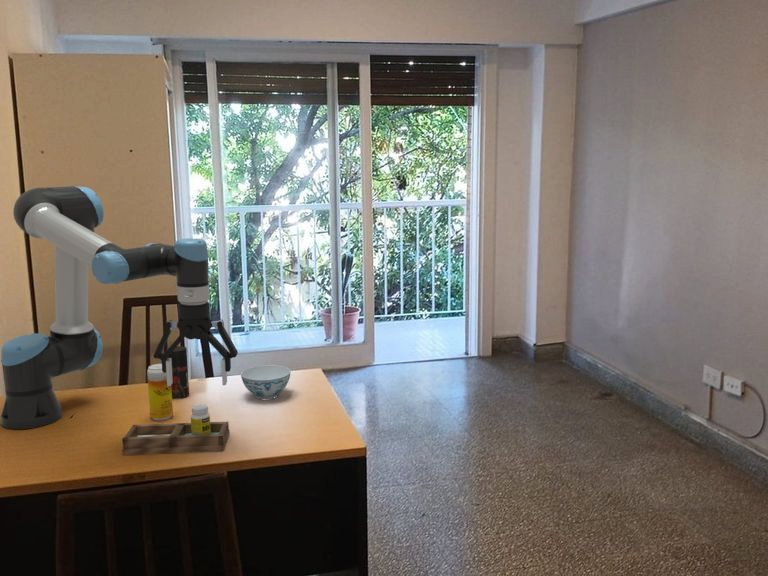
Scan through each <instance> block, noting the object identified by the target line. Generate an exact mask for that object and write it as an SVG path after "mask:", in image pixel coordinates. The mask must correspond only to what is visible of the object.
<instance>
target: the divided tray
mask: <svg viewBox="0 0 768 576" xmlns="http://www.w3.org/2000/svg"><path fill="white" fill-rule="evenodd" d="M229 428H230V427H229V421H210V431H211V434H207V435H192V434H191V422H182V423H181V422H180V423H179V422H177V423H176V422H175V423H152V424H151V423H150V424H149V423H146V424H133V425H132V426H130V428H129V430H127V432H126V434H125V435H124V437H123V438H122V450H121V451H122V452H121V453H122V456H129V455H130V454H131V456H132V454H135V455H155V454H156V455H157V454H158V453H161V454H181V453H182V454H183V453H184V454H185V453H204V452H205V453H206V452H207V453H210V452H224V450H225V447H226V444H227V441H228V438H229V436H230V429H229Z"/></svg>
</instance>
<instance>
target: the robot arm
mask: <svg viewBox="0 0 768 576" xmlns="http://www.w3.org/2000/svg"><path fill="white" fill-rule="evenodd" d="M12 211H13V213H12V214H13V219H14V221H15V223H16V224H17V226H18V228H19V229H20V230H22V231H23V232H24V233H26V234H28V236H30V237H32V238H35V239H43V240H45V241H47V242H49V243H50V244H52V245H54V281H55V282H54V283H55V284H54V285H55V287H54V290H55V294H54V296H55V301H54V302H55V322H53V323H52V324H51V325H50V327H49V336H47V334H45V333H37V332H35V333H29V334H24V335H19V336H17V337H13V338H11V339H10V340H8V341H6V342H5V343H4V345H2V347H1V348H0V349H1V350H0V351H1V353H0V354H1V355H0V357H1V359H0V360H1V365H2V366H1V367H2V375H3V382H4V390H5V391H4V392H5V399H4V403H3V407H2V410H1V414H0V419H1V420H0V421H1V426H2V427H3V428H6V429H11V430H26V429H33V428H39V427H42V426H47V425H49V424H52V423H54V422H56V421H58V420H60V419H61V418H62V416H63V410H62V408H63V407H62V405H61V403H60V401H59V400H58V397H57V395H56V394H55V391H54V388H53V378H55V377H59V376H63V375H67V374H70V373H73V372H74V373H75V372H78V371H83V370H85V369H87V368H90V367H91V366H95V364H97V363H98V362H99V361H100V358H101V356H102V354H103V349H104V346H103V345H104V344H103V340H102V338H101V334H100V332H99V331H98V330H97V329H96V328H95V326H94V324H93V323H92V322H90V321H89V267H90V268H91V272H92V276H94V277H95V279H96V281H97V282H99V283H100V284H104V285H108V284H121V283H123V282H128V281H134V280H135V281H136V280H140V279H145V278H151V277H157V276H159V277H160V276H173V277H176V280H177V281H176V285H177V286H176V287H177V288H176V289H177V291H176V292H177V302H179V303H178V304H177V308H178V309H177V311H178V321H173V320H171V319H169V320H167V322H166V323H165V326H164V332H163V335H162V336H161V338H160V340H159V343H158V345H157V347H156V349H155V352H154V353H153V359H157V360H160V361H161V364H162V371H163V373H166V375H167V386H171V384H172V383H173V380H172V361H171V358H168V356H169V355H170V354H171V353H172V352H173V350H174V349H175V348H176V347H177V346H180V345H179V344H181V342H182V341H183V340H184V339H185V338H186V339H188V340H202V339H204V340H206V342H208V343H209V344H210V345H211V346H212V347H213V348H214V349H215V350H216V351H217V353H219V355H220V356H222V359H221V376H222V377H221V379H222V380H221V381H222V386H227V382H228V372H230V371H231V369H232V363H231V362H232V361H231V360H232V358H236V357H237V355H238V354H239V352H238V351H239V350H238V349H237V348H236V346H235V344H234V342H233V341H232V338H231V337H230V336H229V333H228V331H227V330H226V328H225V323H224V320H223V319H219V320H214V321H212V319H211V304H210V302H209V300H210V284H209V283H210V281H209V277H210V276H209V251H208V243H207V242H206V240H204V239H203V238H194V237H193V238H192V237H191V238H181V239H180V238H179V239H177V240H175V244H174V245H172V244H165V243H162V242H161V243H160V242H157V243H154V242H153V243H152V242H151V243H148V244H147V243H146V244H145V245H144V246H140V247H132V248H123V247H122V246H119V245H117V244H115V243H114V242H112V241H110V240H108V239H107V238H105V237H103V236H101V235H99V234H97V233H96V232H95V229H96V228H97V227H99V226H100V225H101V224H102V222H103V220H104V215H105V214H104V212H105V211H104V206H103V203H102V200H101V199H100V197H99V196H98V195H97V193H96V192H95V191H94V190H93V189H91V188H89V187H86V186H75V185H74V186H73V185H71V186H70V185H69V186H53V187H52V186H51V187H34V188H31V189H28V190H27V191H25V192H23V193H21V194H20V195H19V196H18V198H17V199H16V201H15V203H14V206H13V210H12ZM213 327H214V329H215V330H217V331H218V334H219V336H220V337H221V340H222V341H223V342H224V344H225V346H226V347H225V346H224V345H223V344H222V343H221V342H220V341H219V340H218V339H217V338H216V337H215V336H214V334H213V332H212V331H211V329H212V328H213ZM176 328H177V329H178V330H179V332H180V334H179V335H178V337H177V338H176V339H175V340H174V341H173V342H172V344H171V345H170V346H169V347H168V348H169V349H168V350H167V351H166V350H165V352H164V353H163V350H164V348H165V346H166V344H167V342H168V339H169V337H170V335H171V333H172V332H173V331H174V330H175V329H176Z"/></svg>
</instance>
